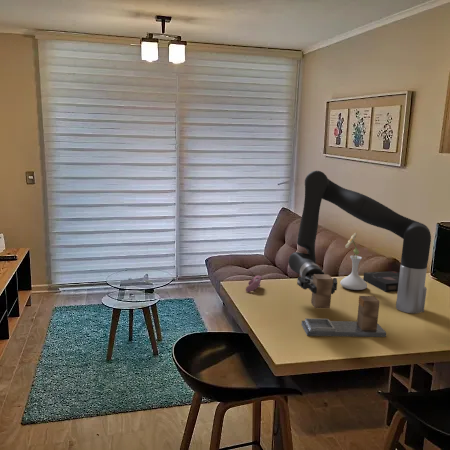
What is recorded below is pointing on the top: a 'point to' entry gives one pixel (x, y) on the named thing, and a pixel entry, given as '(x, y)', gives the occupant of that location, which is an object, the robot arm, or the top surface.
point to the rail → (338, 328)
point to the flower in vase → (354, 271)
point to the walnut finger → (322, 291)
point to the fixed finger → (368, 312)
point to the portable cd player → (383, 280)
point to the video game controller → (254, 283)
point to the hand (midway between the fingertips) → (324, 290)
